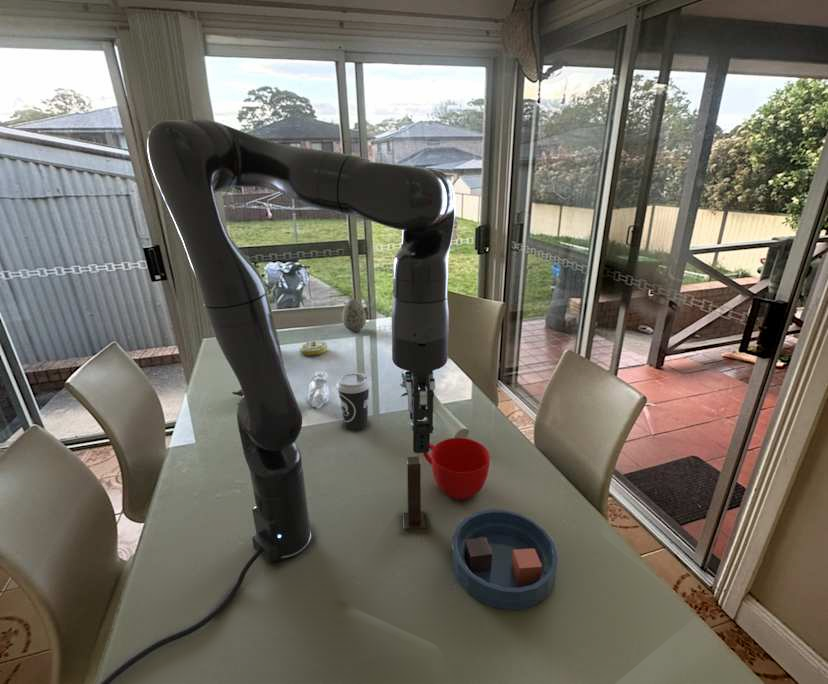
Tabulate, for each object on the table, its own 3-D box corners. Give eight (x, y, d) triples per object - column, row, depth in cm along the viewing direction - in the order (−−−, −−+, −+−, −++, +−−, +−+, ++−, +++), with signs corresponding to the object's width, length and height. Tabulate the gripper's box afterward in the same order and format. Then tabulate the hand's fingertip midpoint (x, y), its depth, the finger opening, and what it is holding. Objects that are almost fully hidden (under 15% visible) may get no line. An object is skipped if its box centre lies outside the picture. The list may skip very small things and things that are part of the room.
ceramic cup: (439, 459, 112) (439, 426, 108) (498, 487, 102) (500, 451, 98) (406, 486, 103) (405, 450, 99) (467, 520, 93) (469, 481, 89)
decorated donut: (303, 347, 184) (302, 339, 183) (329, 347, 184) (328, 338, 183) (298, 357, 174) (297, 348, 173) (325, 356, 174) (324, 348, 173)
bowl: (524, 636, 69) (527, 613, 68) (432, 572, 81) (432, 551, 79) (570, 561, 83) (574, 540, 81) (485, 515, 94) (486, 496, 92)
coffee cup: (366, 436, 122) (364, 388, 117) (334, 432, 124) (330, 384, 118) (376, 418, 131) (374, 372, 125) (345, 415, 133) (342, 370, 127)
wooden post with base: (426, 531, 90) (426, 466, 84) (404, 533, 89) (402, 468, 84) (423, 515, 94) (423, 452, 88) (402, 517, 94) (401, 454, 88)
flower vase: (446, 465, 122) (388, 391, 146) (482, 443, 125) (420, 374, 150) (440, 439, 114) (381, 366, 139) (479, 416, 118) (414, 348, 142)
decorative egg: (358, 325, 210) (356, 294, 204) (371, 331, 202) (369, 299, 197) (338, 330, 203) (336, 299, 198) (351, 336, 196) (349, 304, 190)
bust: (326, 416, 136) (345, 386, 136) (305, 408, 132) (325, 376, 132) (315, 400, 146) (333, 371, 146) (296, 391, 142) (314, 362, 142)
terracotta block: (518, 585, 77) (519, 568, 76) (511, 566, 81) (512, 549, 79) (540, 583, 77) (542, 566, 76) (532, 564, 81) (534, 548, 80)
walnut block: (469, 573, 79) (470, 556, 78) (464, 555, 83) (464, 539, 82) (491, 570, 80) (492, 554, 78) (484, 553, 84) (485, 536, 82)
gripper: (391, 313, 65) (392, 410, 70) (392, 349, 51) (394, 465, 57) (441, 313, 65) (439, 409, 71) (456, 348, 52) (451, 463, 58)
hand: (419, 434), depth 64 cm, fingers open, 8 cm apart
